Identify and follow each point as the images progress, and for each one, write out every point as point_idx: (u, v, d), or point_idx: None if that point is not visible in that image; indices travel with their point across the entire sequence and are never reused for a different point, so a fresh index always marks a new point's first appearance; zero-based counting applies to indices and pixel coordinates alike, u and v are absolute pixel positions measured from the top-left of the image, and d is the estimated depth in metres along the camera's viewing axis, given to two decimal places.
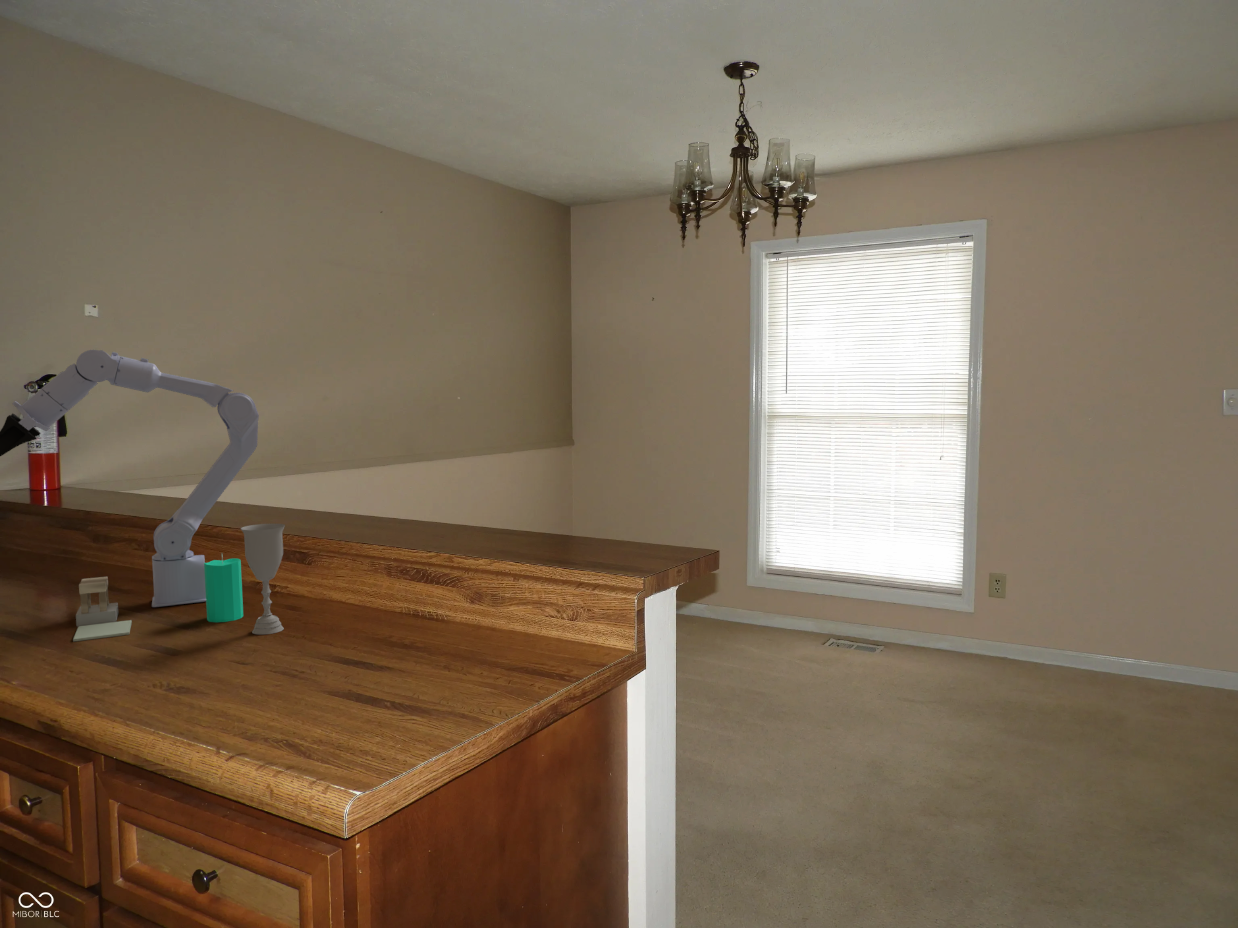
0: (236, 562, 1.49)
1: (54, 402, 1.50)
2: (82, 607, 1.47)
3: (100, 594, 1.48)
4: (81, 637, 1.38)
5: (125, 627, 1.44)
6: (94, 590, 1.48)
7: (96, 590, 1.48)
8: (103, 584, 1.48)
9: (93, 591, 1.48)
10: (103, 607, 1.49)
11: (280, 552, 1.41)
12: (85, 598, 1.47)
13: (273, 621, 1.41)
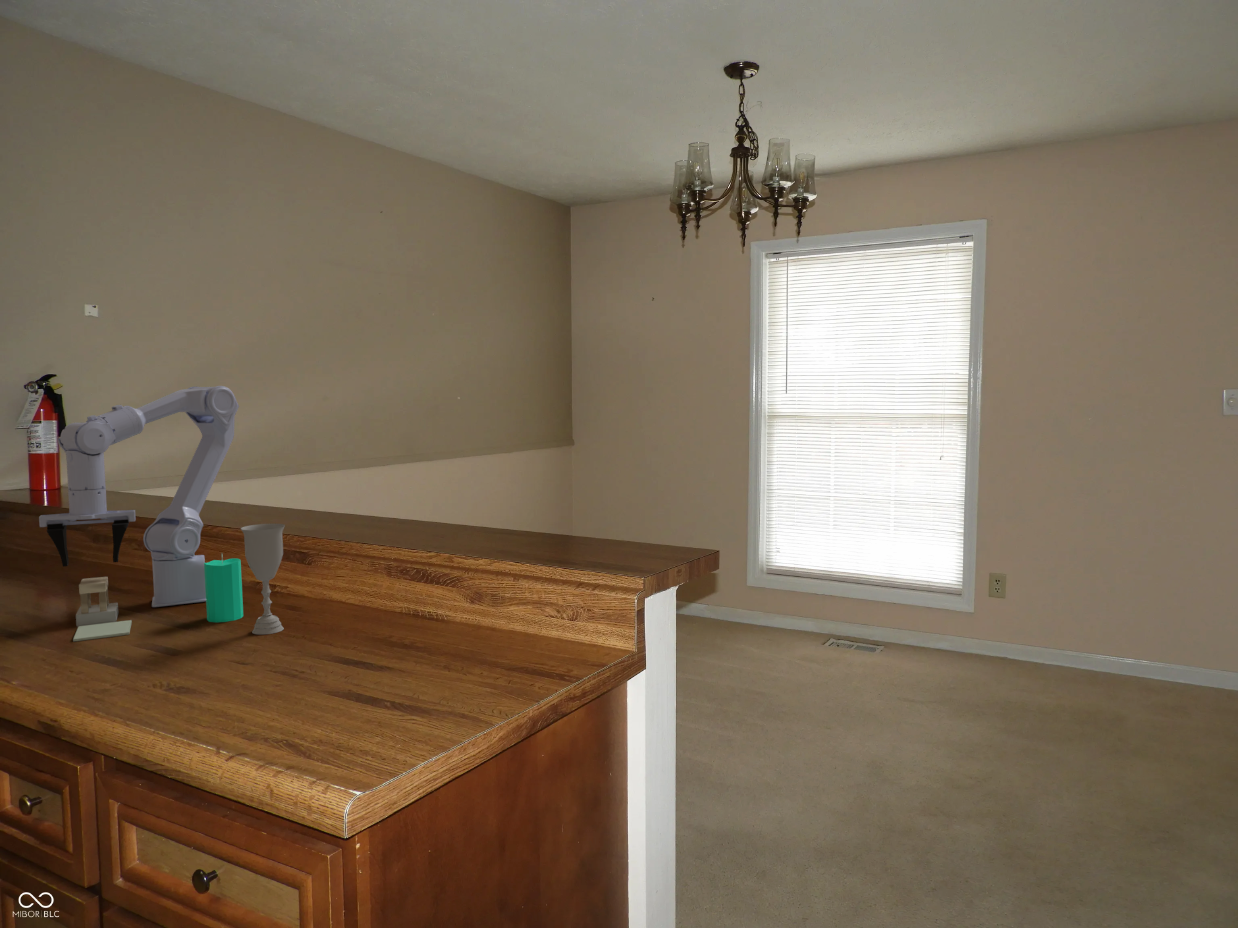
0: (236, 562, 1.49)
1: (104, 489, 1.50)
2: (82, 607, 1.47)
3: (100, 594, 1.48)
4: (81, 637, 1.38)
5: (125, 627, 1.44)
6: (94, 590, 1.48)
7: (96, 590, 1.48)
8: (103, 584, 1.48)
9: (93, 591, 1.48)
10: (103, 607, 1.49)
11: (280, 552, 1.41)
12: (85, 598, 1.47)
13: (273, 621, 1.41)
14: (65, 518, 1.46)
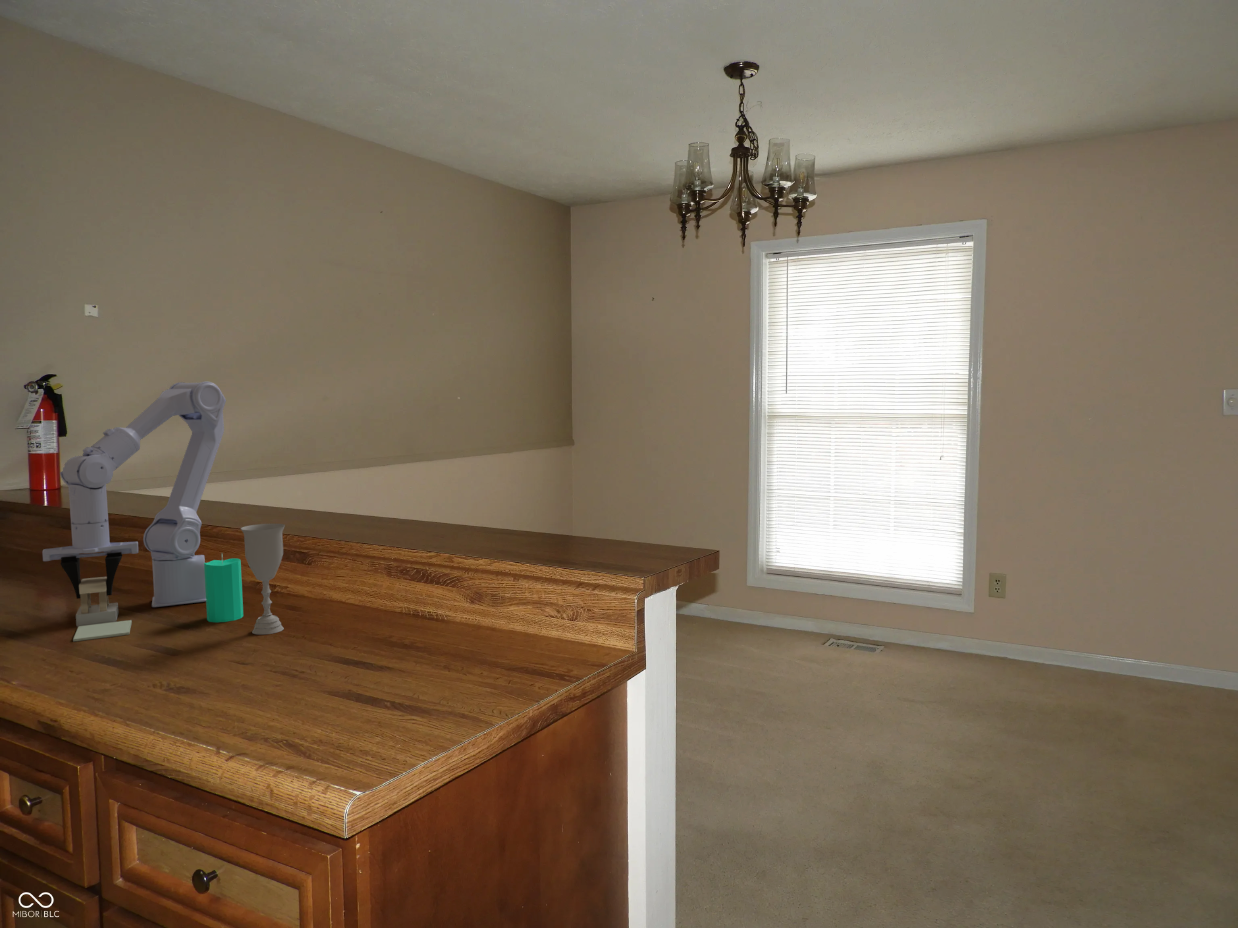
0: (236, 562, 1.49)
1: None
2: (82, 607, 1.47)
3: (100, 594, 1.48)
4: (81, 637, 1.38)
5: (125, 627, 1.44)
6: (94, 590, 1.48)
7: (96, 590, 1.48)
8: (103, 584, 1.48)
9: (93, 591, 1.48)
10: (103, 607, 1.49)
11: (280, 552, 1.41)
12: (85, 598, 1.47)
13: (273, 621, 1.41)
14: (68, 552, 1.46)
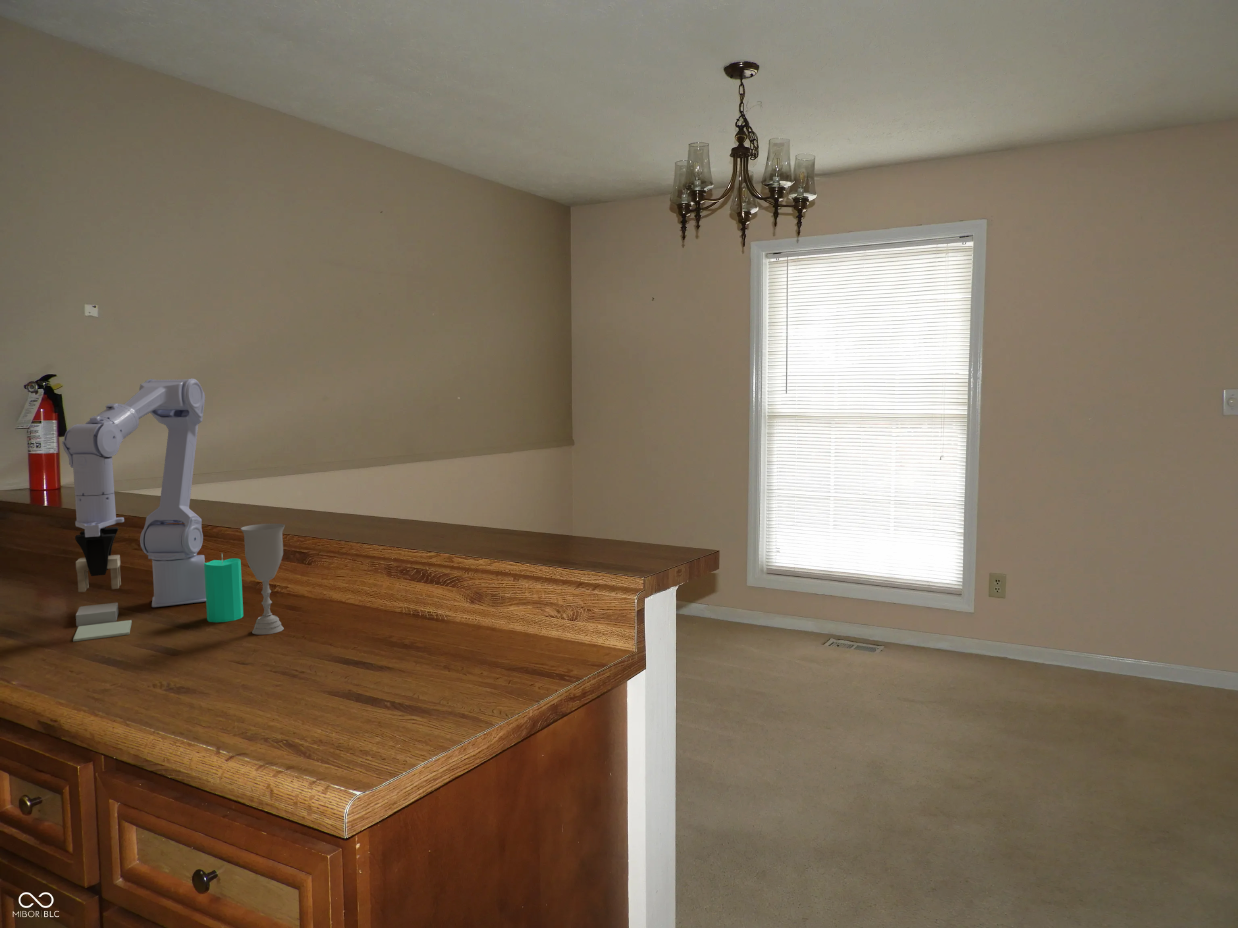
0: (236, 562, 1.49)
1: None
2: (118, 581, 1.42)
3: (119, 567, 1.44)
4: (81, 637, 1.38)
5: (125, 627, 1.44)
6: (119, 563, 1.43)
7: (119, 563, 1.44)
8: (119, 556, 1.45)
9: (119, 564, 1.43)
10: (120, 580, 1.45)
11: (280, 552, 1.41)
12: (117, 572, 1.42)
13: (273, 621, 1.41)
14: (108, 524, 1.39)
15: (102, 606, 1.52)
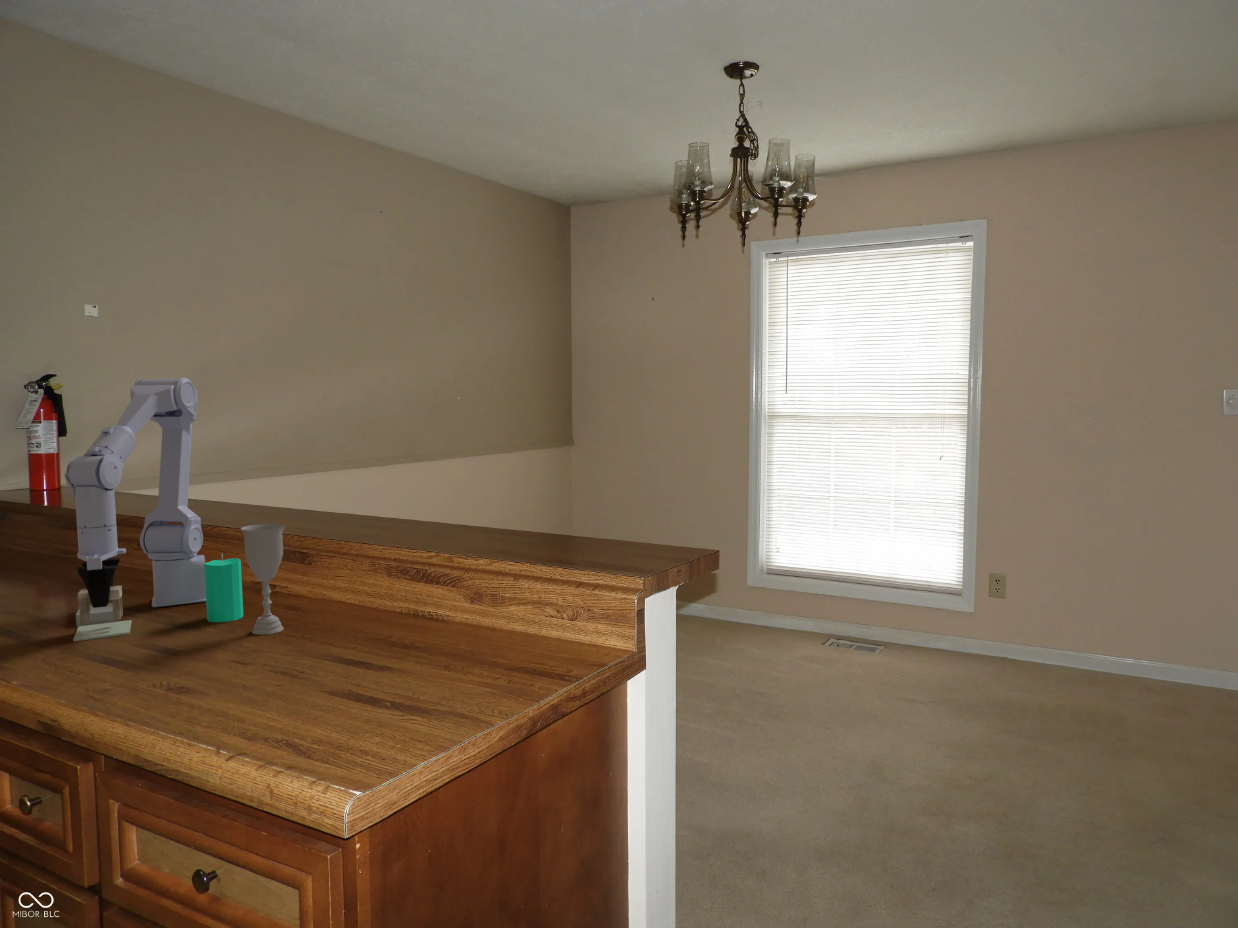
0: (236, 562, 1.49)
1: None
2: (120, 612, 1.42)
3: (121, 598, 1.45)
4: (81, 637, 1.38)
5: (125, 627, 1.44)
6: (120, 594, 1.44)
7: (121, 593, 1.44)
8: (121, 587, 1.45)
9: (120, 595, 1.44)
10: None
11: (280, 552, 1.41)
12: (119, 603, 1.43)
13: (273, 621, 1.41)
14: (110, 556, 1.40)
15: None
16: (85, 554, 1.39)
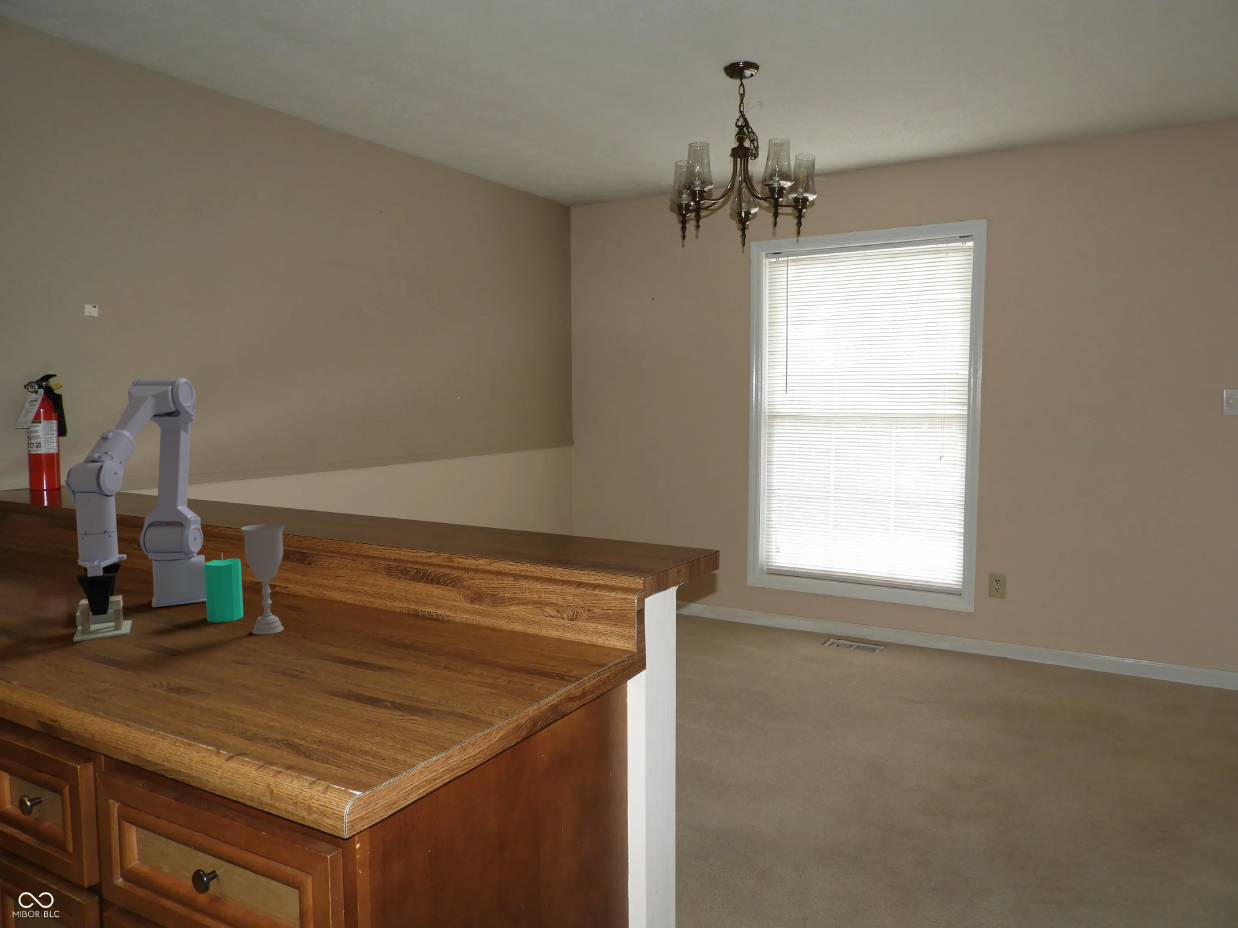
0: (236, 562, 1.49)
1: None
2: (121, 622, 1.43)
3: (121, 607, 1.45)
4: (81, 637, 1.38)
5: (125, 627, 1.44)
6: (121, 604, 1.44)
7: (121, 603, 1.44)
8: None
9: (121, 605, 1.44)
10: (122, 620, 1.45)
11: (280, 552, 1.41)
12: (120, 613, 1.43)
13: (273, 621, 1.41)
14: (111, 562, 1.40)
15: None
16: (85, 560, 1.39)
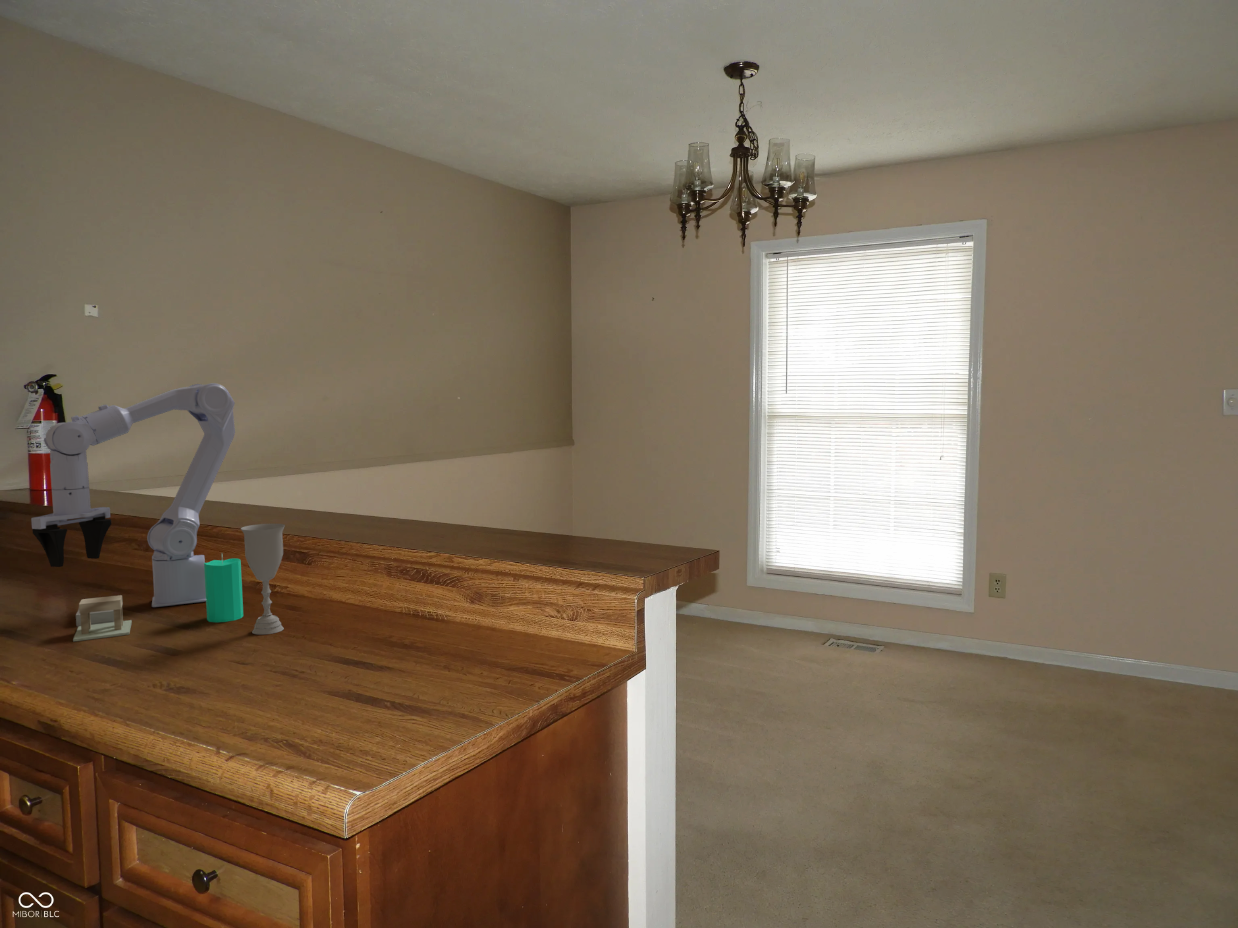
0: (236, 562, 1.49)
1: None
2: (121, 622, 1.43)
3: (121, 607, 1.45)
4: (81, 637, 1.38)
5: (125, 627, 1.44)
6: (121, 604, 1.44)
7: (121, 603, 1.44)
8: None
9: (121, 605, 1.44)
10: (122, 620, 1.45)
11: (280, 552, 1.41)
12: (120, 613, 1.43)
13: (273, 621, 1.41)
14: (65, 518, 1.47)
15: None
16: (52, 514, 1.48)
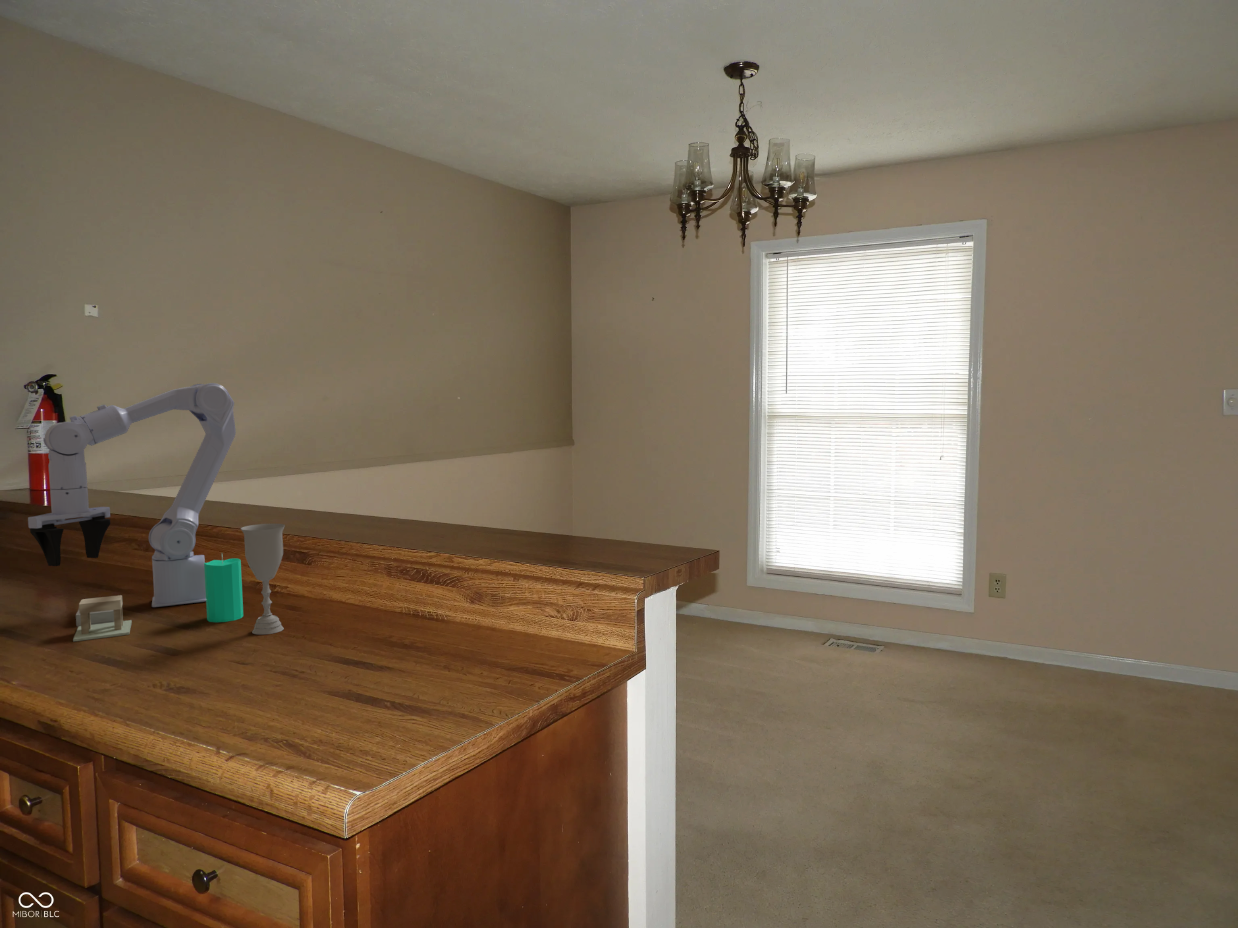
0: (236, 562, 1.49)
1: None
2: (121, 622, 1.43)
3: (121, 607, 1.45)
4: (81, 637, 1.38)
5: (125, 627, 1.44)
6: (121, 604, 1.44)
7: (121, 603, 1.44)
8: None
9: (121, 605, 1.44)
10: (122, 620, 1.45)
11: (280, 552, 1.41)
12: (120, 613, 1.43)
13: (273, 621, 1.41)
14: (62, 517, 1.47)
15: None
16: (51, 513, 1.49)
